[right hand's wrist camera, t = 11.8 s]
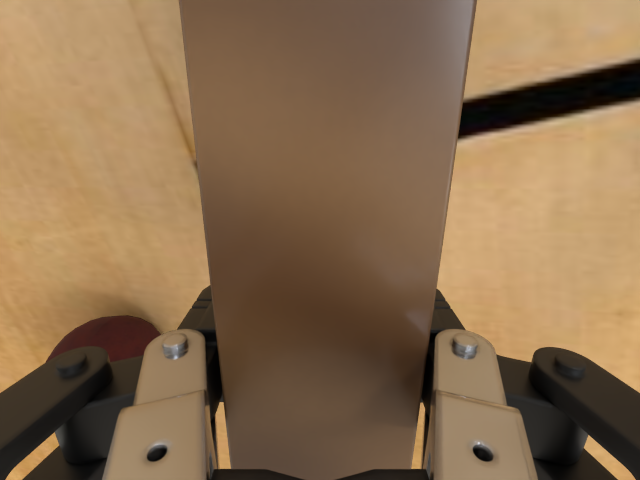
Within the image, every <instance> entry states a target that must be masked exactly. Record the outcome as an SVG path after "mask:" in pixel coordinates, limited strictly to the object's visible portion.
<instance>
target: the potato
mask: <svg viewBox="0 0 640 480" xmlns="http://www.w3.org/2000/svg"><path fill="white" fill-rule="evenodd" d="M160 335H161V334H160V333H159V332H158V331H157V329H156V328H155V327H154V326H153V325H152V324H150V323H148V322H147V321H145V320H143V319H141V318H137V317H132V316H111V317H101V318H98V319H94V320H91V321H89V322H87V323H85V324H83V325H81V326H79V327H77V328H75V329H74V330H73V331H71V332H70V333H69V334H68V335H66V336H65V337H64V338H63V339H62V340H61V341H60V343H59V344H58V345H57V346H56V347H55V349H54V350H53V352H52V353H51V355H50V356H49V358H48V359H47V361H46V362H48V361H49V360H51V359H52V358H54V357H56V356H58V355H60V354H62V353H64V352H66V351H69V350H72V349H76V348H80V347H87V346H96V347H101V348H103V349H105V350H106V351H107V353H108V356H109V360H110V362H114V361H119V360H124V359H128V358H133V357H138V356H142V355H144V352H145V349H146V347H147V346H148V344H149V343H150V342H151V341H153V340H154V339H155V338H157V337H158V336H160Z"/></svg>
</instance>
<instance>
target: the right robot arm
mask: <svg viewBox="0 0 640 480" xmlns="http://www.w3.org/2000/svg"><path fill="white" fill-rule="evenodd" d="M219 402H224V401H223V392H222V383H221V374H220V365H219V356H218V347H217V338H216V329H215V320H214V311H213V302H212V293H211V285H210V286H208V287H207V288H205V289H204V290H203V291H202V292H201V294H200V295H199V297H198V298H197V301H195V303H194V304H193V306H192V309H190V310H189V312H188V313H187V315H186V317H185V318H184V320H183V321H182V323H181V324H180V326H179V327H178V329H177V330H174V331H170V332H167V333H164V334H162V335H160V336H158V337H157V338H155V339H154V340H153V341H151V342H150V343H149V344H148V346H147V347H146V349H145V352H144V355H142V356H138V357H133V358H128V359H124V360H119V361H114V362H110V360H109V356H108V353H107V351H106V350H105V349H103V348H101V347H96V346H87V347H80V348H76V349H72V350H69V351H66V352H64V353H62V354H60V355H58V356H56V357H54V358H52V359H51V360H49V361H48V362H46V363H45V364H43V365H42V366H40V367H39V368H37V369H36V370H34V371H33V372H31V373H30V374H28V375H27V376H25V377H24V378H22V379H21V380H19V381H18V382H16V383H15V384H13V385H12V386H10V387H9V388H7V389H6V390H4V391H3V392H1V393H0V480H5V479H6V478H7V476H8V475H9V473H10V472H11V471H12V469H13V468H14V467H15V466H16V465H17V464H18V463H20V462H21V461H22V460H23V459H24V458H25V457H26V456H28V455H29V454H30V453H31V452H32V451H33V450H34V449H36V448H37V447H38V446H39V445H40V444H41V443H42V442H44V441H45V440H46V439H47V438H48V437H49V436H50V435H52V434H53V433H54V432H55V434H56V437H57V440H58V443H59V446H58V447H57V448H56V449H55V450H54V451H53V452H52V453H51V454H50V455H48V456H47V457H46V458H45V459H44V460H43V461H42V462H41V463H40V464H39V465H38V466H37V467H35V468H34V469H33V470H32V471H31V472H30V473H29V474H28V475H27V476H26V477H25V478H24V479H23V480H304V479H300V478H297V477H293V476H289V475H286V474H282V473H278V472H275V471H271V470H267V469H219V453H218V437H217V422H216V415H215V414H216V411H217V408H218V405H219ZM420 402H423V404H424V407H425V415H424V422H423V438H422V454H421V469H373V470H369V471H365V472H362V473H358V474H354V475H351V476H347V477H343V478H340V479H336V480H617V479H616V478H615V477H614V476H613V475H612V474H611V473H610V472H609V471H608V470H607V469H606V468H605V467H603V466H602V465H601V464H600V463H599V462H598V461H597V460H596V459H595V458H594V457H593V456H592V455H590V454H589V453H588V452H587V451H586V450H585V449H584V445H585V442H586V440H587V437H588V435H590V436H591V437H592V438H593V439H594V440H595V441H596V442H598V443H599V444H600V445H601V446H602V447H603V448H604V449H606V450H607V451H608V452H609V453H610V454H611V455H612V456H614V457H615V458H616V459H617V460H618V461H619V462H620V463H622V464H623V465H624V466H625V467H626V468H627V469H628V470H629V471H630V472H631V473H632V475H633V476H634V477H635V479H636V480H640V393H639V392H637V391H636V390H634V389H633V388H631V387H630V386H628V385H627V384H625V383H624V382H622V381H621V380H619V379H618V378H616V377H615V376H613V375H612V374H610V373H609V372H607V371H606V370H604V369H603V368H601V367H600V366H598V365H597V364H595V363H594V362H592V361H591V360H589V359H588V358H586V357H584V356H582V355H580V354H577V353H575V352H572V351H569V350H566V349H561V348H555V347H545V348H540V349H538V350H536V351H535V352H534V355H533V358H532V362H526V361H521V360H516V359H512V358H507V357H503V356H499V355H496V352H495V349H494V347H493V346H492V344H491V343H490V342H489V341H487V340H486V339H485V338H483V337H482V336H480V335H478V334H476V333H473V332H470V331H466V330H465V328H464V327H463V325H462V324H461V322H460V321H459V319H458V318H457V316H456V315H455V313H454V312H453V310H452V309H450V306H449V304H448V303H447V301H445V298H444V297H443V295H442V294H441V292H440V291H439V290H438V289H436V295H435V302H434V309H433V316H432V323H431V330H430V337H429V345H428V352H427V359H426V366H425V373H424V380H423V387H422V394H421V401H420Z"/></svg>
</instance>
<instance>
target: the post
mask: <svg viewBox="0 0 640 480" xmlns="http://www.w3.org/2000/svg"><path fill="white" fill-rule="evenodd" d="M476 4H477V0H179V5H180V14H181V23H182V32H183V41H184V50H185V59H186V68H187V77H188V86H189V95H190V104H191V113H192V122H193V131H194V140H195V149H196V158H197V167H198V176H199V185H200V194H201V203H202V212H203V221H204V230H205V239H206V248H207V257H208V266H209V275H210V284H211V293H212V302H213V311H214V320H215V329H216V338H217V347H218V356H219V365H220V374H221V383H222V392H223V401H224V410H225V419H226V428H227V437H228V446H229V455H230V464H231V469H267V470H271V471H275V472H278V473H282V474H286V475H289V476H293V477H297V478H300V479H304V480H336V479H340V478H343V477H347V476H351V475H354V474H358V473H362V472H365V471H369V470H373V469H411V465H412V458H413V451H414V444H415V437H416V430H417V423H418V416H419V408H420V401H421V394H422V387H423V380H424V373H425V366H426V359H427V352H428V345H429V337H430V330H431V323H432V316H433V309H434V302H435V295H436V288H437V281H438V273H439V266H440V259H441V252H442V245H443V238H444V231H445V224H446V217H447V210H448V202H449V195H450V188H451V181H452V174H453V167H454V160H455V153H456V146H457V139H458V131H459V124H460V117H461V110H462V103H463V96H464V89H465V82H466V75H467V68H468V60H469V53H470V46H471V39H472V32H473V25H474V18H475V11H476Z"/></svg>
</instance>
